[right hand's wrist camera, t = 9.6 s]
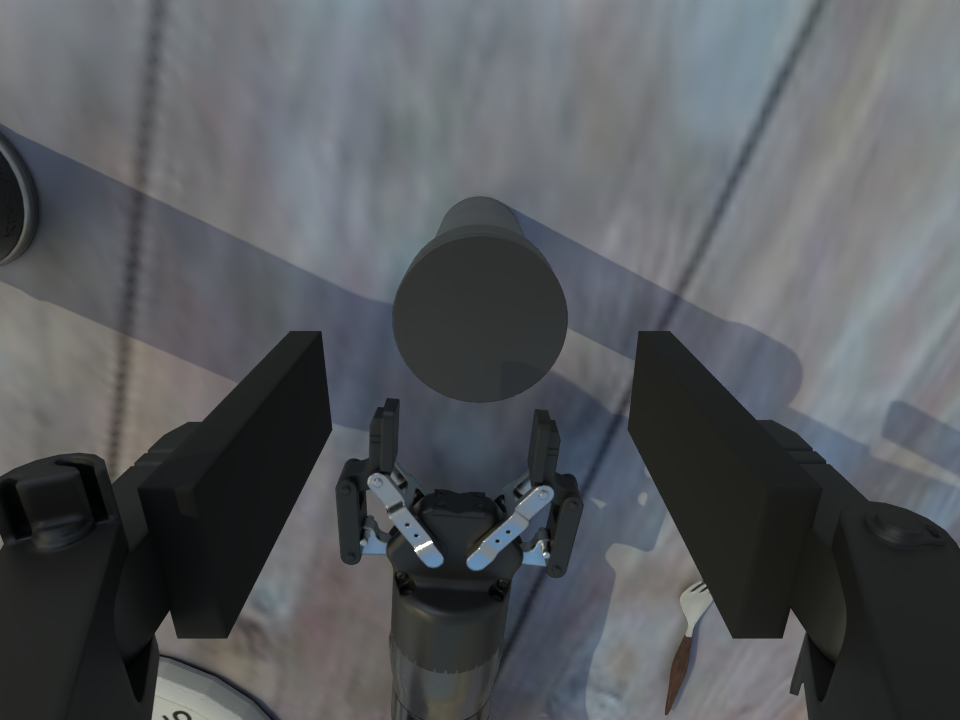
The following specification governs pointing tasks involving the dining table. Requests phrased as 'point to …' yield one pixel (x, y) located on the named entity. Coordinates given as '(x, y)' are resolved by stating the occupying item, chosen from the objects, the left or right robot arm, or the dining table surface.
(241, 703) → the wall clock
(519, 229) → the dark grey cylinder
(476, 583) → the left robot arm
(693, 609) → the fork
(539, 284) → the lid
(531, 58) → the dining table surface
